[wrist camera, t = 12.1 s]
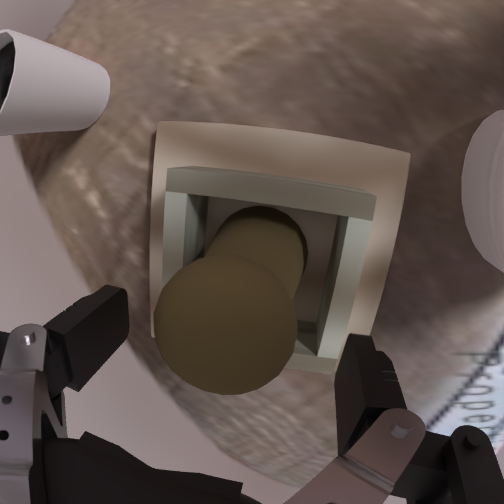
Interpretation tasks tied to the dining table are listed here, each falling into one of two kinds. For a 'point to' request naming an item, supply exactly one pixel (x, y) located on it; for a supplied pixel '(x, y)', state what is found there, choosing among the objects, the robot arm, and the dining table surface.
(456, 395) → the dining table surface
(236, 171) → the stand
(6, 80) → the white cup
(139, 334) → the dining table surface
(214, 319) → the brown rounded tapered piece
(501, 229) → the honey pot
